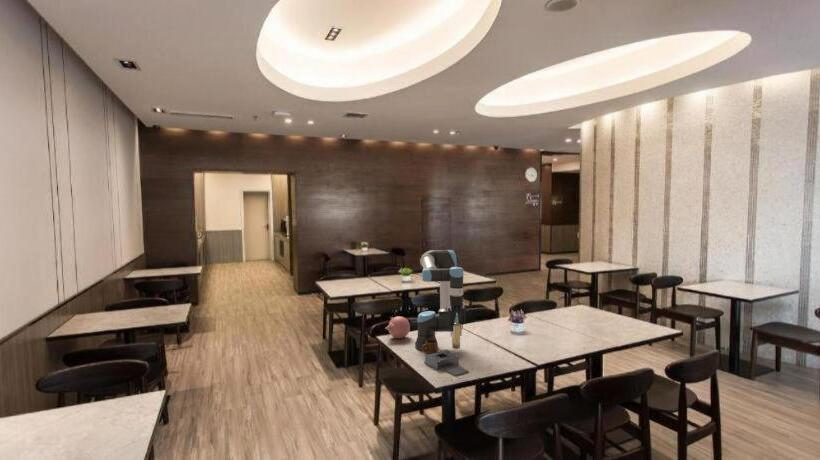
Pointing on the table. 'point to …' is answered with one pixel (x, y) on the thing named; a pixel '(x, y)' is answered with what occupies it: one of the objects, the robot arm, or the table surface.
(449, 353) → the housing
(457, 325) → the gold metal cylinder
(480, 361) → the table surface
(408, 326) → the balloon
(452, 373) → the mat
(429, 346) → the mug
